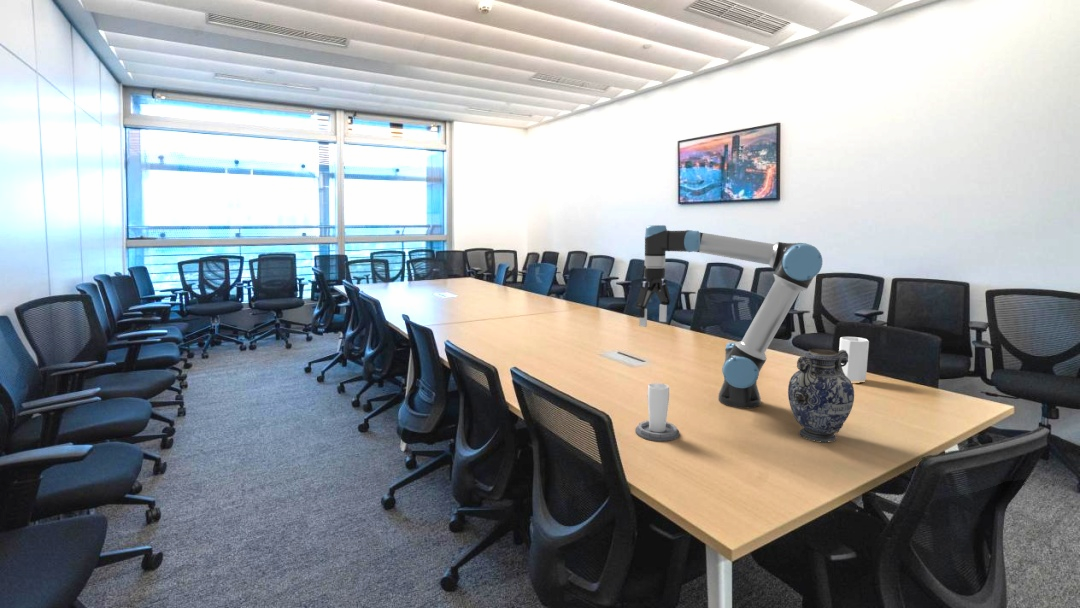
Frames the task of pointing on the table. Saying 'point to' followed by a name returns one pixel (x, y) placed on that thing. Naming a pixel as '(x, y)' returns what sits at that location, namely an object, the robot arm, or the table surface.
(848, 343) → the cup
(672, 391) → the table surface
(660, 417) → the drinking glass
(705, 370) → the table surface
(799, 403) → the decorative vase
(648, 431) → the coaster
